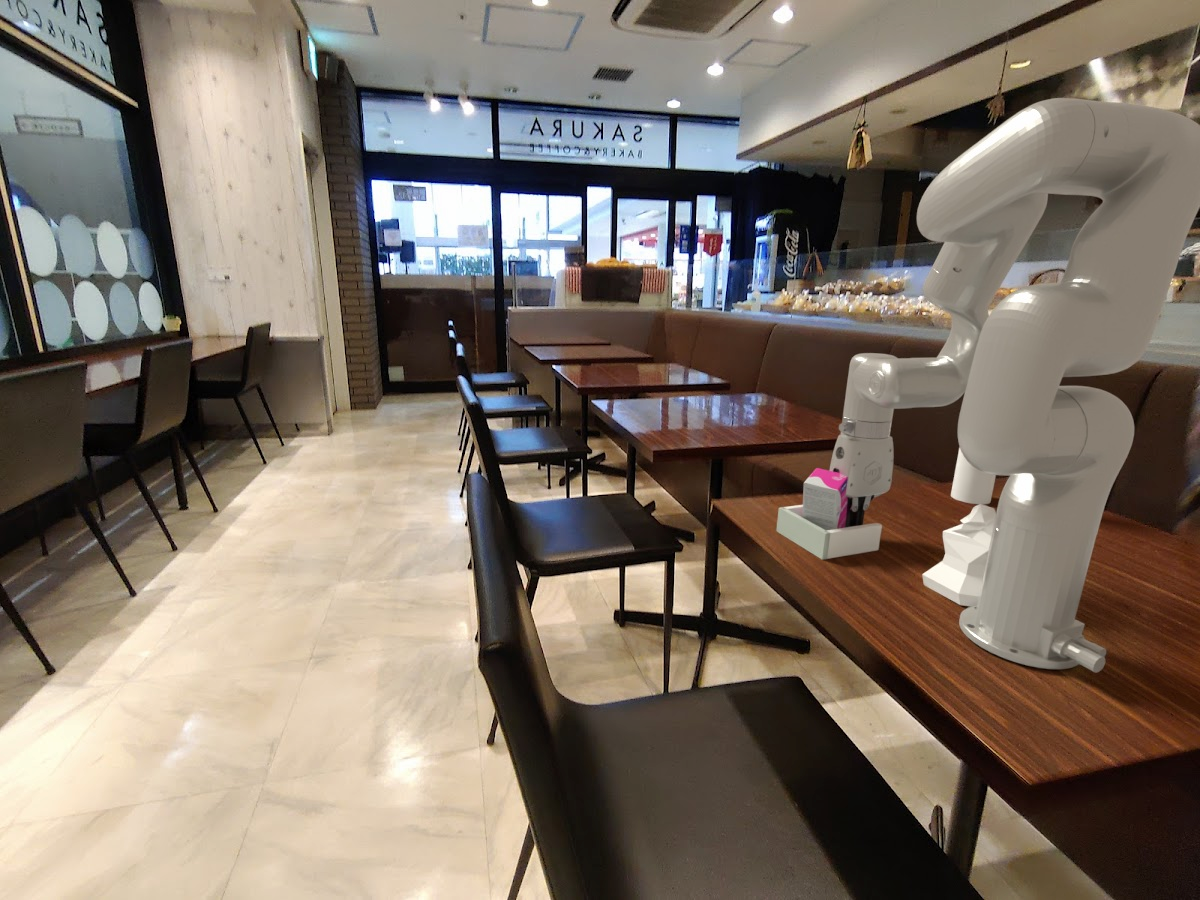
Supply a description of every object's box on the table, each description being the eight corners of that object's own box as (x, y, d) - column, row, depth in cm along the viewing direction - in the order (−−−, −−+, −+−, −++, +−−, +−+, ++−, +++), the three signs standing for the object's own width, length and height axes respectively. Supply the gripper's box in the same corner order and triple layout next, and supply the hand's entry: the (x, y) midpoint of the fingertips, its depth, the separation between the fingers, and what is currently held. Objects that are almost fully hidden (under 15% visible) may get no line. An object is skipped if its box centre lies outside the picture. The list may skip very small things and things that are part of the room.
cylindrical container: (998, 504, 119) (1023, 383, 112) (963, 504, 119) (986, 382, 112) (977, 493, 126) (999, 377, 119) (943, 492, 126) (964, 377, 119)
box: (878, 550, 97) (882, 525, 96) (822, 559, 93) (825, 533, 92) (828, 523, 108) (831, 500, 107) (776, 531, 104) (778, 507, 103)
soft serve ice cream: (991, 638, 75) (979, 538, 72) (908, 590, 90) (896, 505, 86) (1071, 606, 77) (1063, 508, 74) (978, 565, 91) (968, 481, 88)
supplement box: (835, 548, 97) (837, 490, 92) (800, 538, 101) (800, 482, 96) (847, 530, 101) (850, 473, 96) (813, 521, 105) (814, 466, 99)
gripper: (846, 436, 91) (832, 543, 96) (917, 430, 96) (900, 532, 101) (814, 426, 98) (802, 526, 103) (882, 420, 103) (867, 516, 108)
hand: (851, 529), depth 102 cm, fingers closed
